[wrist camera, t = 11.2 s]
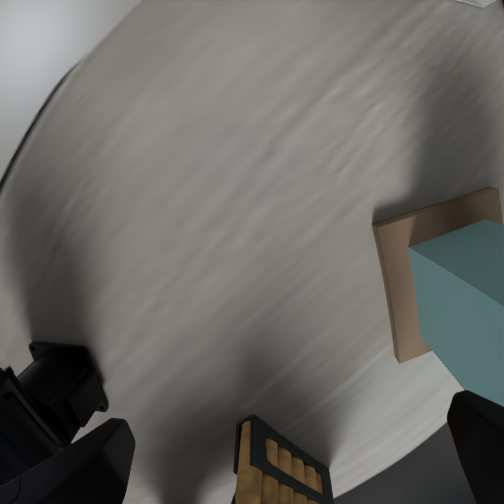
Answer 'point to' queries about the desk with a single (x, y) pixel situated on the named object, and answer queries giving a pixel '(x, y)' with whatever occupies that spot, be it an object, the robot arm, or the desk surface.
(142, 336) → the desk surface
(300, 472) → the ammunition clip
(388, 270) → the peg plate
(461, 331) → the teal square planter
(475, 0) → the ink box
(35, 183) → the desk surface
